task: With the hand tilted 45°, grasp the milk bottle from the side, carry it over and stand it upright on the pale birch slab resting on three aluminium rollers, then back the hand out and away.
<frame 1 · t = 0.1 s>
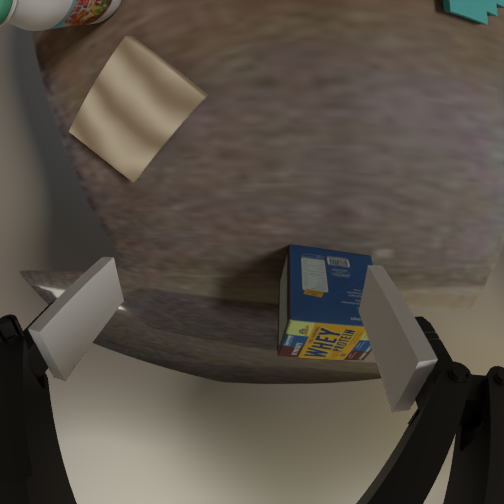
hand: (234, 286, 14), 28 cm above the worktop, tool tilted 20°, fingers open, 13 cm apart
protein box: (324, 269, 52), on the worktop
roller slab: (141, 104, 33), on the worktop
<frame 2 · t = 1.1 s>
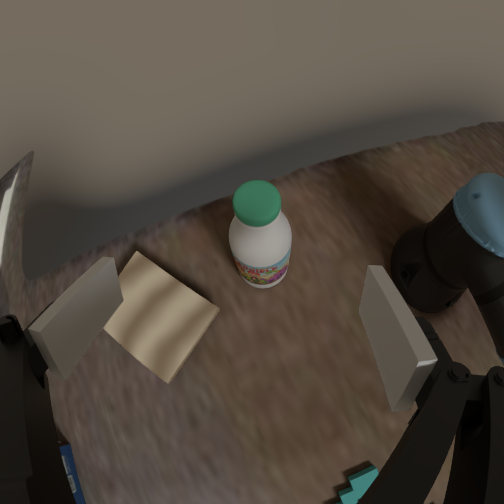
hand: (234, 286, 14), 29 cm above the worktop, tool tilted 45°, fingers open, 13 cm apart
protein box: (60, 471, 33), on the worktop
roller slab: (160, 318, 43), on the worktop
milk bottle: (263, 265, 45), on the worktop
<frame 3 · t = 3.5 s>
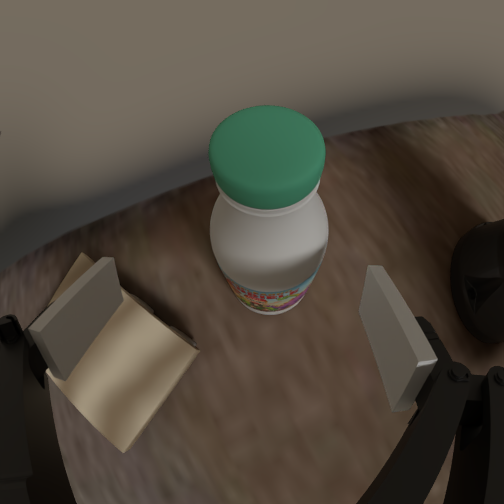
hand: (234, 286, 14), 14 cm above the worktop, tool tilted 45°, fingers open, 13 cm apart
roller slab: (116, 352, 27), on the worktop
milk bottle: (270, 278, 29), on the worktop
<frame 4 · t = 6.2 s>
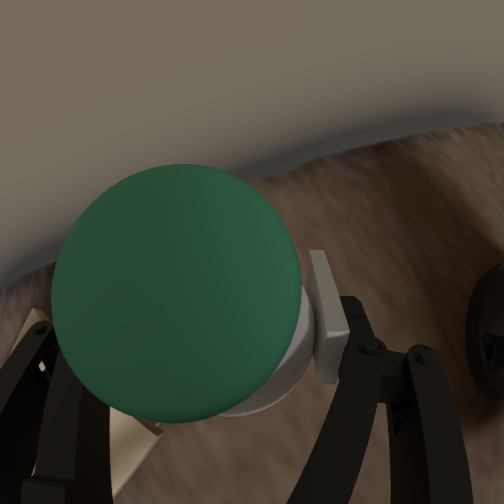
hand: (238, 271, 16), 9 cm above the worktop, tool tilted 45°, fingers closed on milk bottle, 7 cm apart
roller slab: (80, 414, 21), on the worktop
milk bottle: (247, 343, 23), on the worktop, touching gripper
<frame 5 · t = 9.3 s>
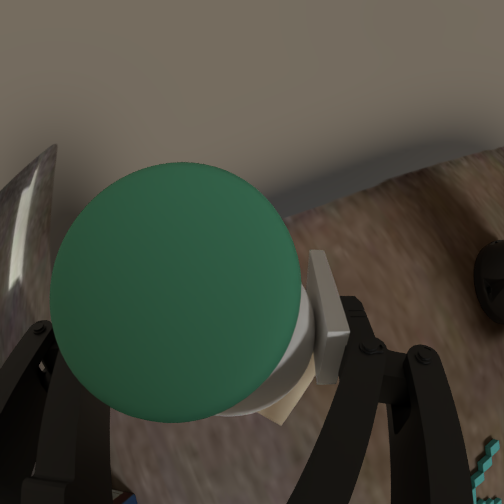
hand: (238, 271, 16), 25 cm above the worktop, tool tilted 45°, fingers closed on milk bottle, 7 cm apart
roller slab: (256, 349, 37), on the worktop
milk bottle: (247, 343, 23), point 15 cm above the worktop, touching gripper
when the fingers open (14 cm above the worktop, at t = 12.5 s): milk bottle stays where it is, resting on roller slab.
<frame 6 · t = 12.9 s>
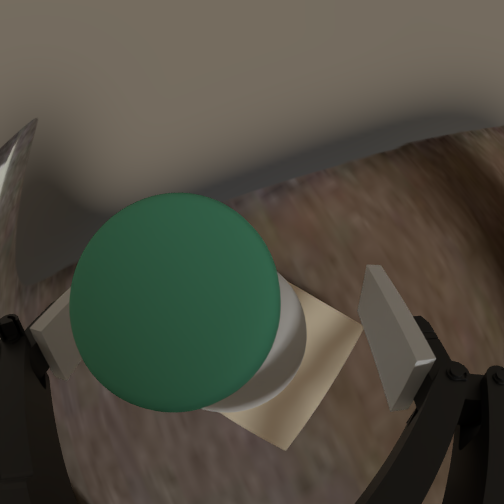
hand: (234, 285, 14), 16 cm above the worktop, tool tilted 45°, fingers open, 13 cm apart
roller slab: (251, 346, 28), on the worktop
milk bottle: (246, 344, 24), point 4 cm above the worktop, touching roller slab
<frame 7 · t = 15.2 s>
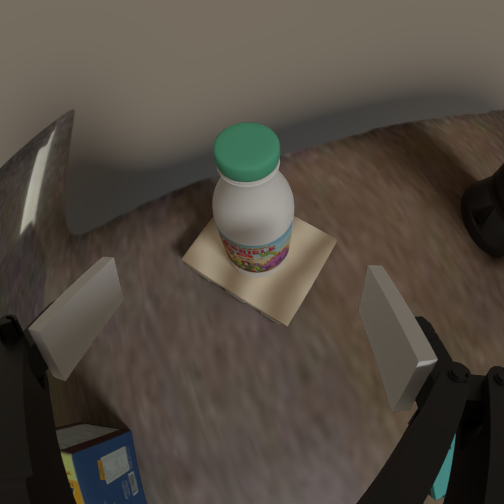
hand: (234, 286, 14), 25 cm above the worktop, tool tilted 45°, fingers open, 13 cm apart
alien figure: (472, 449, 27), on the worktop
protein box: (112, 468, 31), on the worktop
roller slab: (260, 261, 41), on the worktop
milk bottle: (258, 250, 37), point 4 cm above the worktop, touching roller slab
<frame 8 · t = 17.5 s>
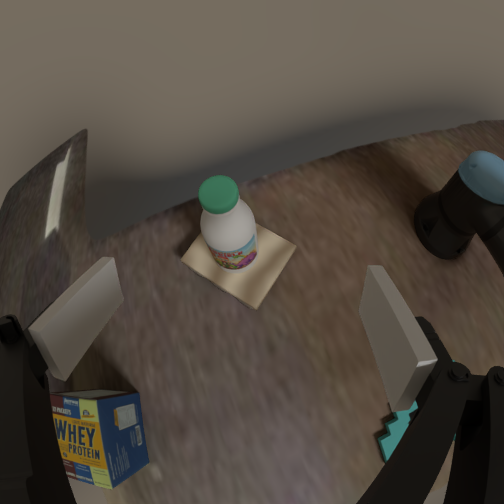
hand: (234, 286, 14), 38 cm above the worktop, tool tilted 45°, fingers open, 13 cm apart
alien figure: (423, 425, 41), on the worktop
protein box: (122, 426, 44), on the worktop
roller slab: (240, 261, 55), on the worktop
milk bottle: (236, 253, 51), point 4 cm above the worktop, touching roller slab
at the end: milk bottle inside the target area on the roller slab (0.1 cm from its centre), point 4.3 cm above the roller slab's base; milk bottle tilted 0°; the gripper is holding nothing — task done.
